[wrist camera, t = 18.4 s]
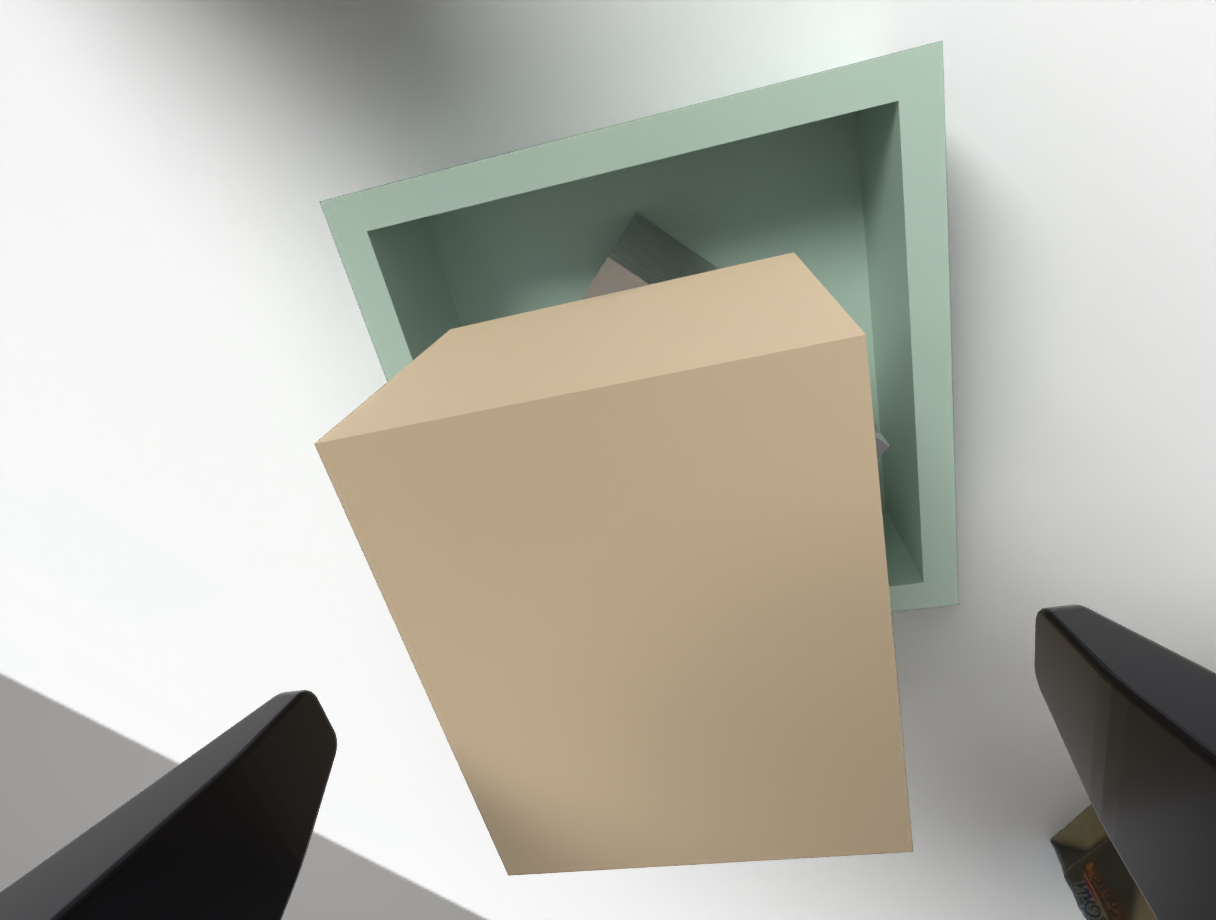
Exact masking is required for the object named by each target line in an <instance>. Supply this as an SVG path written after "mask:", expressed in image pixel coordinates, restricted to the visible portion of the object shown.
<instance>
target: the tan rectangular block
mask: <svg viewBox="0 0 1216 920" xmlns="http://www.w3.org/2000/svg"><path fill="white" fill-rule="evenodd" d="M315 447H316V449H317V451H318V453H319V455H320V458H321V460H322V462H323V464H324V467H325V469H326V471H327V473H328V475H329V478H330V480H331V482H332V484H333V487H334V489H335V491H336V493H337V495H338V498H339V500H340V502H341V504H342V507H343V509H344V511H345V513H346V516H347V518H348V520H349V522H350V524H351V527H352V529H353V531H354V533H355V536H356V538H357V540H358V542H359V544H360V547H361V549H362V551H363V553H364V556H365V558H366V560H367V562H368V564H369V567H370V569H371V571H372V573H373V576H374V578H375V580H376V582H377V584H378V587H379V589H380V591H381V593H382V596H383V598H384V600H385V602H386V604H387V607H388V609H389V611H390V613H391V616H392V618H393V620H394V622H395V624H396V627H397V629H398V631H399V633H400V636H401V638H402V640H403V642H404V644H405V647H406V649H407V651H408V653H409V656H410V658H411V660H412V662H413V664H414V667H415V669H416V671H417V673H418V676H419V678H420V680H421V682H422V684H423V687H424V689H425V691H426V693H427V696H428V698H429V700H430V702H431V704H432V707H433V709H434V711H435V713H436V716H437V718H438V720H439V722H440V724H441V727H442V729H443V731H444V733H445V736H446V738H447V740H448V742H449V744H450V747H451V749H452V751H453V753H454V756H455V758H456V760H457V762H458V764H459V767H460V769H461V771H462V773H463V776H464V778H465V780H466V782H467V784H468V787H469V789H470V791H471V793H472V796H473V798H474V800H475V802H476V804H477V807H478V809H479V811H480V813H481V816H482V818H483V820H484V822H485V824H486V827H487V829H488V831H489V833H490V836H491V838H492V840H493V842H494V845H495V847H496V849H497V851H498V853H499V856H500V858H501V860H502V862H503V865H504V867H505V869H506V871H507V873H508V875H524V874H541V873H558V872H575V871H592V870H610V869H627V868H644V867H661V866H678V865H695V864H712V863H729V862H746V861H763V860H780V859H797V858H814V857H831V856H848V855H865V854H882V853H899V852H913V844H912V833H911V822H910V811H909V800H908V789H907V779H906V768H905V757H904V746H903V735H902V724H901V713H900V702H899V691H898V680H897V669H896V658H895V647H894V637H893V626H892V615H891V604H890V593H889V582H888V571H887V560H886V549H885V538H884V527H883V516H882V506H881V495H880V484H879V473H878V462H877V451H876V440H875V429H874V418H873V407H872V396H871V385H870V374H869V364H868V353H867V342H866V334H865V333H864V332H863V331H862V330H861V329H860V327H859V326H858V325H857V324H856V323H855V322H854V320H853V319H852V318H851V317H850V316H849V315H848V314H847V312H846V311H845V310H844V309H843V308H842V307H841V306H840V304H839V303H838V302H837V301H836V300H835V299H834V298H833V296H832V295H831V294H830V293H829V292H828V291H827V289H826V288H825V287H824V286H823V285H822V284H821V283H820V281H819V280H818V279H817V278H816V277H815V276H814V275H813V273H812V272H811V271H810V270H809V269H808V268H807V267H806V265H805V264H804V263H803V262H802V261H801V260H800V259H799V257H798V256H797V255H796V254H795V253H794V252H793V253H788V254H784V255H780V256H775V257H771V258H766V259H762V260H757V261H753V262H748V263H744V264H739V265H735V266H730V267H726V268H722V269H717V270H713V271H708V272H704V273H699V274H695V275H690V276H686V277H681V278H677V279H672V280H668V281H664V282H659V283H655V284H650V285H646V286H641V287H637V288H632V289H628V290H623V291H619V292H614V293H610V294H606V295H601V296H597V297H592V298H588V299H583V300H579V301H574V302H570V303H565V304H561V305H556V306H552V307H548V308H543V309H539V310H534V311H530V312H525V313H521V314H516V315H512V316H507V317H503V318H498V319H494V320H490V321H485V322H481V323H476V324H472V325H467V326H463V327H458V328H454V329H450V330H449V331H448V332H447V333H445V334H444V335H443V336H442V337H441V338H439V339H438V340H437V341H436V342H435V343H433V344H432V345H431V346H430V347H429V348H428V349H426V350H425V351H424V352H423V353H422V354H420V355H419V356H418V357H417V358H416V359H414V360H413V361H412V362H411V363H410V364H408V365H407V366H406V367H405V368H404V369H403V370H401V371H400V372H399V373H398V374H397V375H395V376H394V377H393V378H392V379H391V380H389V381H388V382H387V383H386V384H385V385H384V386H382V387H381V388H380V389H379V390H378V391H376V392H375V393H374V394H373V395H372V396H370V397H369V398H368V399H367V400H366V401H364V402H363V403H362V404H361V405H360V406H359V407H357V408H356V409H355V410H354V411H353V412H351V413H350V414H349V415H348V416H347V417H345V418H344V419H343V420H342V421H341V422H340V423H338V424H337V425H336V426H335V427H334V428H332V429H331V430H330V431H329V432H328V433H326V434H325V435H324V436H323V437H322V438H320V439H319V440H318V441H317V442H316V443H315Z"/></svg>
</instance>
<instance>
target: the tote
mask: <svg viewBox="0 0 1216 920" xmlns="http://www.w3.org/2000/svg"><path fill="white" fill-rule="evenodd" d="M320 204H321V207H322V209H323V212H324V215H325V217H326V220H327V223H328V225H329V228H330V231H331V233H332V236H333V239H334V241H335V244H336V247H337V249H338V252H339V255H340V257H341V260H342V263H343V265H344V268H345V270H346V273H347V276H348V278H349V281H350V284H351V286H352V289H353V292H354V294H355V297H356V300H357V302H358V305H359V308H360V310H361V313H362V316H363V318H364V321H365V324H366V326H367V329H368V332H369V334H370V337H371V340H372V342H373V345H374V348H375V350H376V353H377V356H378V358H379V361H380V364H381V366H382V369H383V372H384V374H385V377H386V380H387V382H388V381H389V380H391V379H392V378H393V377H394V376H395V375H397V374H398V373H399V372H400V371H401V370H403V369H404V368H405V367H406V366H407V365H408V364H410V363H411V362H412V361H413V360H414V359H416V358H417V357H418V356H419V355H420V354H422V353H423V352H424V351H425V350H426V349H428V348H429V347H430V346H431V345H432V344H433V343H435V342H436V341H437V340H438V339H439V338H441V337H442V336H443V335H444V334H445V333H447V332H448V331H449V330H450V329H454V328H458V327H463V326H467V325H472V324H476V323H481V322H485V321H490V320H494V319H498V318H503V317H507V316H512V315H516V314H521V313H525V312H530V311H534V310H539V309H543V308H548V307H552V306H556V305H561V304H565V303H570V302H574V301H579V300H581V299H582V298H583V296H584V295H585V293H586V291H587V290H588V288H589V286H590V285H591V283H592V282H593V280H594V278H595V277H596V275H597V274H598V272H599V270H600V269H601V267H602V265H603V264H604V262H605V261H606V259H607V257H608V256H609V254H610V253H611V251H612V249H613V248H614V246H615V245H616V243H617V241H618V240H619V238H620V237H621V235H622V233H623V232H624V230H625V229H626V227H627V225H628V224H629V222H630V221H631V219H632V218H633V216H634V214H635V213H636V212H637V213H639V214H640V215H641V216H643V217H644V218H646V219H647V220H649V221H650V222H652V223H653V224H655V225H656V226H657V227H659V228H660V229H662V230H663V231H665V232H666V233H668V234H669V235H670V236H672V237H673V238H675V239H676V240H678V241H679V242H681V243H682V244H684V245H685V246H686V247H688V248H689V249H691V250H692V251H694V252H695V253H697V254H698V255H699V256H701V257H702V258H704V259H705V260H707V261H708V262H710V263H711V264H713V265H714V266H715V267H717V268H718V269H722V268H726V267H730V266H735V265H739V264H744V263H748V262H753V261H757V260H762V259H766V258H771V257H775V256H780V255H784V254H788V253H793V252H794V253H795V254H796V255H797V256H798V257H799V259H800V260H801V261H802V262H803V263H804V264H805V265H806V267H807V268H808V269H809V270H810V271H811V272H812V273H813V275H814V276H815V277H816V278H817V279H818V280H819V281H820V283H821V284H822V285H823V286H824V287H825V288H826V289H827V291H828V292H829V293H830V294H831V295H832V296H833V298H834V299H835V300H836V301H837V302H838V303H839V304H840V306H841V307H842V308H843V309H844V310H845V311H846V312H847V314H848V315H849V316H850V317H851V318H852V319H853V320H854V322H855V323H856V324H857V325H858V326H859V327H860V329H861V330H862V331H863V332H864V333H865V334H866V342H867V353H868V364H869V374H870V385H871V396H872V407H873V418H874V422H875V424H876V426H877V427H878V429H879V430H880V432H881V433H882V435H883V437H884V438H885V440H886V441H887V443H888V444H889V447H888V448H887V449H886V450H885V451H884V453H883V454H882V455H881V456H880V457H879V458H878V459H877V462H878V473H879V484H880V495H881V506H882V516H883V527H884V538H885V549H886V560H887V571H888V582H889V593H890V604H891V612H897V611H905V610H914V609H923V608H932V607H941V606H949V605H958V569H957V533H956V497H955V462H954V426H953V390H952V354H951V318H950V283H949V247H948V211H947V175H946V139H945V104H944V68H943V41H939V42H935V43H931V44H927V45H923V46H920V47H916V48H912V49H908V50H904V51H900V52H896V53H892V54H889V55H885V56H881V57H877V58H873V59H869V60H865V61H861V62H858V63H854V64H850V65H846V66H842V67H838V68H834V69H831V70H827V71H823V72H819V73H815V74H811V75H807V76H803V77H800V78H796V79H792V80H788V81H784V82H780V83H776V84H773V85H769V86H765V87H761V88H757V89H753V90H749V91H745V92H742V93H738V94H734V95H730V96H726V97H722V98H718V99H714V100H711V101H707V102H703V103H699V104H695V105H691V106H687V107H684V108H680V109H676V110H672V111H668V112H664V113H660V114H656V115H653V116H649V117H645V118H641V119H637V120H633V121H629V122H625V123H622V124H618V125H614V126H610V127H606V128H602V129H598V130H595V131H591V132H587V133H583V134H579V135H575V136H571V137H567V138H564V139H560V140H556V141H552V142H548V143H544V144H540V145H536V146H533V147H529V148H525V149H521V150H517V151H513V152H509V153H506V154H502V155H498V156H494V157H490V158H486V159H482V160H478V161H475V162H471V163H467V164H463V165H459V166H455V167H451V168H447V169H444V170H440V171H436V172H432V173H428V174H424V175H420V176H417V177H413V178H409V179H405V180H401V181H397V182H393V183H389V184H386V185H382V186H378V187H374V188H370V189H366V190H362V191H359V192H355V193H351V194H347V195H343V196H339V197H335V198H331V199H328V200H324V201H320Z"/></svg>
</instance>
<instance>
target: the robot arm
mask: <svg viewBox="0 0 1216 920" xmlns="http://www.w3.org/2000/svg"><path fill="white" fill-rule="evenodd" d="M1035 673H1036V678H1037V681H1038V685H1039V687H1040V690H1041V692H1042V694H1043V697H1044V699H1045V701H1046V703H1047V705H1048V708H1049V710H1050V712H1051V714H1052V716H1053V719H1054V721H1055V723H1056V725H1057V728H1058V730H1059V732H1060V734H1061V736H1062V739H1063V741H1064V743H1065V745H1066V748H1067V750H1068V752H1069V754H1070V756H1071V759H1072V761H1073V763H1074V765H1075V768H1076V770H1077V772H1078V774H1079V776H1080V779H1081V781H1082V783H1083V785H1084V788H1085V790H1086V792H1087V794H1088V796H1089V799H1090V801H1091V803H1092V805H1093V807H1094V809H1095V811H1096V813H1097V815H1098V817H1099V820H1100V822H1101V823H1102V825H1103V827H1104V829H1105V831H1106V832H1107V834H1108V836H1109V838H1110V840H1111V842H1112V843H1113V845H1114V847H1115V849H1116V850H1117V852H1118V854H1119V855H1120V857H1121V859H1122V861H1123V862H1124V864H1125V866H1126V867H1127V869H1128V871H1129V872H1130V874H1131V876H1132V878H1133V879H1134V881H1135V883H1136V884H1137V886H1138V888H1139V890H1140V891H1141V893H1142V895H1143V896H1144V898H1145V900H1146V902H1147V903H1148V905H1149V907H1150V908H1151V910H1152V912H1153V913H1154V915H1155V917H1156V919H1157V920H1216V673H1214V672H1212V671H1210V670H1208V669H1206V668H1204V667H1202V666H1200V665H1199V664H1197V663H1195V662H1193V661H1191V660H1189V659H1187V658H1185V657H1183V656H1181V655H1179V654H1177V653H1175V652H1173V651H1171V650H1169V649H1167V648H1165V647H1163V646H1161V645H1159V644H1157V643H1155V642H1153V641H1151V640H1149V639H1147V638H1145V637H1144V636H1142V635H1140V634H1138V633H1136V632H1134V631H1132V630H1130V629H1128V628H1126V627H1124V626H1122V625H1120V624H1118V623H1116V622H1114V621H1112V620H1110V619H1108V618H1106V617H1104V616H1102V615H1100V614H1098V613H1096V612H1094V611H1092V610H1090V609H1089V608H1086V607H1084V606H1081V605H1067V606H1058V607H1049V608H1044V609H1042V610H1040V611H1039V612H1038V614H1037V617H1036V630H1035ZM336 749H337V738H336V734H335V731H334V729H333V727H332V726H331V724H330V722H329V720H328V718H327V716H326V714H325V712H324V710H323V708H322V706H321V704H320V702H319V701H318V699H317V697H316V696H315V694H313V693H312V692H311V691H307V690H300V691H291V692H284V693H280V694H278V695H276V696H275V697H273V698H272V699H271V700H269V701H268V702H266V703H265V704H264V705H262V706H261V707H259V708H258V709H257V710H255V711H254V712H252V713H251V714H250V715H248V716H247V717H245V718H244V719H243V720H241V721H240V722H238V723H237V724H235V725H234V726H233V727H231V728H230V729H228V730H227V731H226V732H224V733H223V734H221V735H220V736H219V737H217V738H216V739H214V740H213V741H212V742H210V743H209V744H207V745H206V746H205V747H203V748H202V749H200V750H199V751H198V752H196V753H195V754H193V755H192V756H191V757H189V758H188V759H186V760H185V761H184V762H182V763H181V764H179V765H178V766H177V767H175V768H174V769H173V770H171V771H170V772H168V773H167V774H166V775H164V776H163V777H161V778H160V779H159V780H157V781H156V782H154V783H153V784H152V785H150V786H149V787H147V788H146V789H144V790H143V791H142V792H140V793H139V794H137V795H136V796H135V797H133V798H132V799H130V800H129V801H128V802H126V803H125V804H123V805H122V806H121V807H119V808H118V809H116V810H115V811H114V812H112V813H111V814H109V815H108V816H106V817H105V818H104V819H102V820H101V821H100V822H98V823H97V824H95V825H94V826H93V827H91V828H90V829H88V830H87V831H86V832H84V833H83V834H81V835H80V836H78V837H77V838H76V839H74V840H73V841H71V842H70V843H69V844H67V845H66V846H64V847H63V848H62V849H60V850H59V851H57V852H56V853H55V854H53V855H52V856H50V857H49V858H48V859H46V860H45V861H43V862H42V863H41V864H39V865H38V866H37V867H35V868H34V869H32V870H31V871H29V872H28V873H27V874H25V875H24V876H23V877H21V878H20V879H18V880H17V881H16V882H14V883H13V884H11V885H10V886H8V887H7V888H6V889H4V890H3V891H1V892H0V920H281V918H282V916H283V913H284V911H285V909H286V906H287V904H288V901H289V898H290V896H291V893H292V891H293V888H294V886H295V883H296V880H297V878H298V875H299V872H300V870H301V867H302V863H303V861H304V858H305V855H306V851H307V848H308V845H309V842H310V839H311V835H312V832H313V828H314V825H315V822H316V818H317V815H318V812H319V808H320V805H321V802H322V798H323V795H324V792H325V788H326V785H327V781H328V778H329V775H330V771H331V768H332V765H333V761H334V758H335V755H336Z"/></svg>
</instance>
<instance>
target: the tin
mask: <svg viewBox="0 0 1216 920" xmlns="http://www.w3.org/2000/svg"><path fill="white" fill-rule="evenodd" d="M717 269H718V268H717V267H715V266H714V265H713V264H711V263H710V262H708V261H707V260H705V259H704V258H702V257H701V256H699V255H698V254H697V253H695V252H694V251H692V250H691V249H689V248H688V247H686V246H685V245H684V244H682V243H681V242H679V241H678V240H676V239H675V238H673V237H672V236H670V235H669V234H668V233H666V232H665V231H663V230H662V229H660V228H659V227H657V226H656V225H655V224H653V223H652V222H650V221H649V220H647V219H646V218H644V217H643V216H641V215H640V214H639V213H637V212H636V213H635V214H634V216H633V218H632V219H631V221H630V222H629V224H628V225H627V227H626V229H625V230H624V232H623V233H622V235H621V237H620V238H619V240H618V241H617V243H616V245H615V246H614V248H613V249H612V251H611V253H610V254H609V256H608V257H607V259H606V261H605V262H604V264H603V265H602V267H601V269H600V270H599V272H598V274H597V275H596V277H595V278H594V280H593V282H592V283H591V285H590V286H589V288H588V290H587V291H586V293H585V295H584V296H583V298H582V299H581V300H583V299H588V298H592V297H597V296H601V295H606V294H610V293H614V292H619V291H623V290H628V289H632V288H637V287H641V286H646V285H650V284H655V283H659V282H664V281H668V280H672V279H677V278H681V277H686V276H690V275H695V274H699V273H704V272H708V271H713V270H717ZM874 429H875V440H876V451H877V459H878V458H879V457H880V456H881V455H882V454H883V453H884V451H885V450H886V449H887V448H888V447H889V444H888V443H887V441H886V440H885V438H884V437H883V435H882V433H881V432H880V430H879V429H878V427H877V426H876V424H875V422H874Z"/></svg>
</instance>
